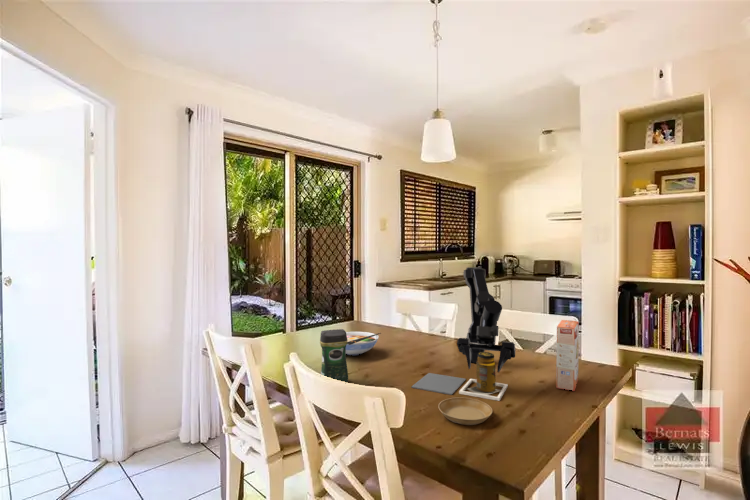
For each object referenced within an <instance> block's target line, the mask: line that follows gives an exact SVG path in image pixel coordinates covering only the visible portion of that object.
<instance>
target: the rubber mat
mask: <svg viewBox="0 0 750 500" xmlns="http://www.w3.org/2000/svg"><path fill="white" fill-rule="evenodd" d="M466 380H467V379H466V378H464V377H456V376H452V375H451V376H450V375H445V374H438V373H433V372H428V373H427V374H425V375H424V376H423V377H421V378H420V379H419V380H418V381H417V382H414V384H413V385H412V386H411V388H412V389H418V390H423V391H429V392H433V393H439V394H445V395H449V396H452V395H454V393H455V392H456V391H457V390H458V389H459V388H460V387H461V386H462V385H463V383H465V381H466Z"/></svg>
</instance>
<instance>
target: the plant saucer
mask: <svg viewBox="0 0 750 500" xmlns="http://www.w3.org/2000/svg"><path fill="white" fill-rule="evenodd" d="M437 406H438V407H437V408H438V410H439V411H440V413H441V414H442V415H443V416H444V418H446V419H447V420H448V421H450V422H452V423H455V424H457V425H458V424H459V425H463V426H464V425H465V426H473V425H474V426H475V425H479V424H481V423H484V422H485V421H487V419H488V418H490V416H492V414H493V408H492V407H491V405H489V404H488V403H486V402H484V401H482V400H479V399H475V398H471V397H461V396H460V397H458V396H457V397H451V398H446V399H443V400H441V401H440V402H439V403H438V405H437Z"/></svg>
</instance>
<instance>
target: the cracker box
mask: <svg viewBox="0 0 750 500" xmlns="http://www.w3.org/2000/svg"><path fill="white" fill-rule="evenodd" d="M579 324H580V323H579V321H577V320H570V319H569V320H567V319H561V321H560V322H559V323H558V325H556V365H555V366H556V373H555V374H556V375H555V377H556V378H555V380H556V381H555V386H556V389H560V390H564V389H565V391H569V390H572V391H571V392H575V391H576V387H577V385H576V384H578V381H579V356H580V355H579V352H580V351H579V347H580V346H579V344H580V343H579V339H580V338H579V335H580V334H579V332H580V331H579V330H580V326H579Z"/></svg>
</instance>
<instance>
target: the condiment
mask: <svg viewBox="0 0 750 500" xmlns="http://www.w3.org/2000/svg"><path fill="white" fill-rule="evenodd" d="M496 376H497V374H496V362H495V354H494V353H492V352H489V351H485V352H480V353H478V360H477V363H476V379H477V383H476V385H475V386H471V387H467V388H466V390H468V391H469V392H472V393H478V394H483V395H489V396H490V395H491V394H492V395H493V394H495V393H498V392H499V393H500V392H501V390H502V389H498V388H497V386H496V383H497V382H496V380H497V379H496Z"/></svg>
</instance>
